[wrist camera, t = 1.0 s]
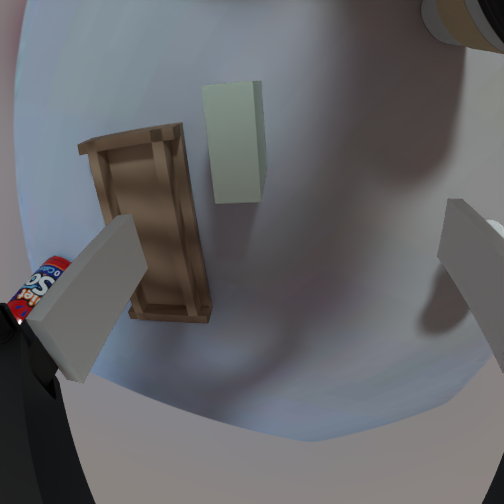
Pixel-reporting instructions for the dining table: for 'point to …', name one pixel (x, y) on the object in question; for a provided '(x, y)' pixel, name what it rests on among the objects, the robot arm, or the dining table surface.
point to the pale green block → (236, 140)
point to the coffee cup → (466, 22)
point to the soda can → (37, 286)
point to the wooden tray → (155, 217)
